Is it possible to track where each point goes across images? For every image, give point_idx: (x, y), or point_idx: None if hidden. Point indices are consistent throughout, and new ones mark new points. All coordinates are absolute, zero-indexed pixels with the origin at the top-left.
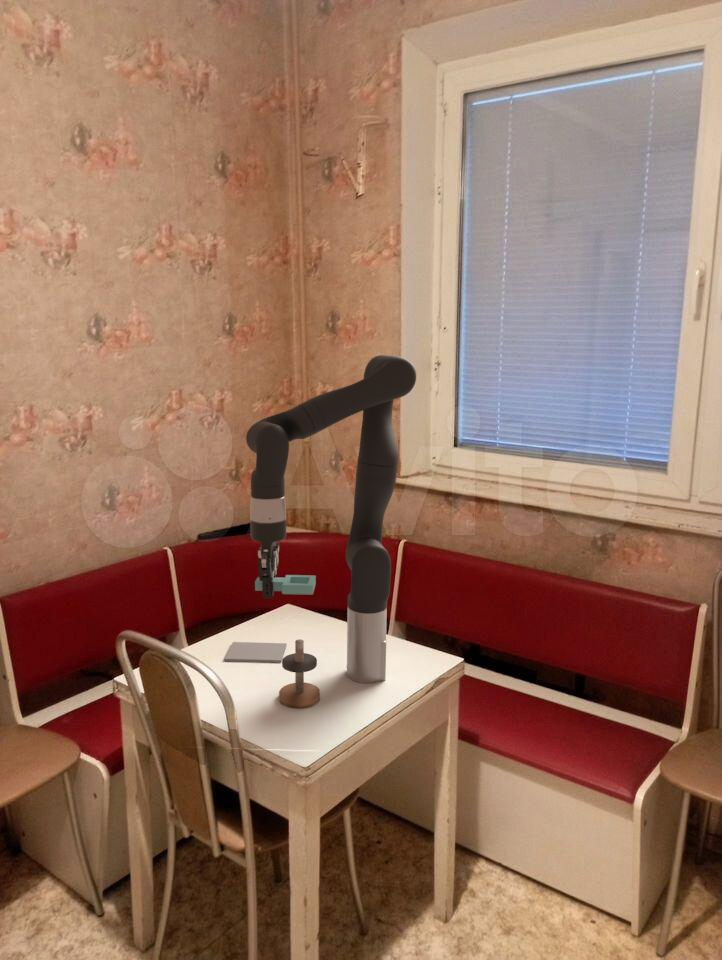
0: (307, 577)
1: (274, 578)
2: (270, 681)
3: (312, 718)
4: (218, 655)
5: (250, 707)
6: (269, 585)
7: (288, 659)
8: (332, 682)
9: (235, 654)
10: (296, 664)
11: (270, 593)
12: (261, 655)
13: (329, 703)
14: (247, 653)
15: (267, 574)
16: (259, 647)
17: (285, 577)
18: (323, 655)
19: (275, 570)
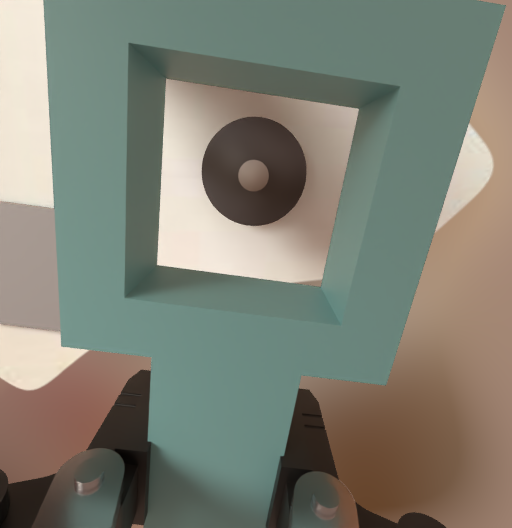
0: (127, 80)
1: (179, 446)
2: (170, 235)
3: (340, 145)
4: (53, 343)
5: (279, 272)
6: (333, 468)
7: (245, 207)
8: (176, 84)
9: (55, 313)
10: (281, 184)
11: (318, 407)
12: (54, 258)
13: (280, 100)
14: (47, 289)
15: (131, 524)
16: (11, 264)
17: (147, 352)
18: (22, 98)
19: (116, 514)
